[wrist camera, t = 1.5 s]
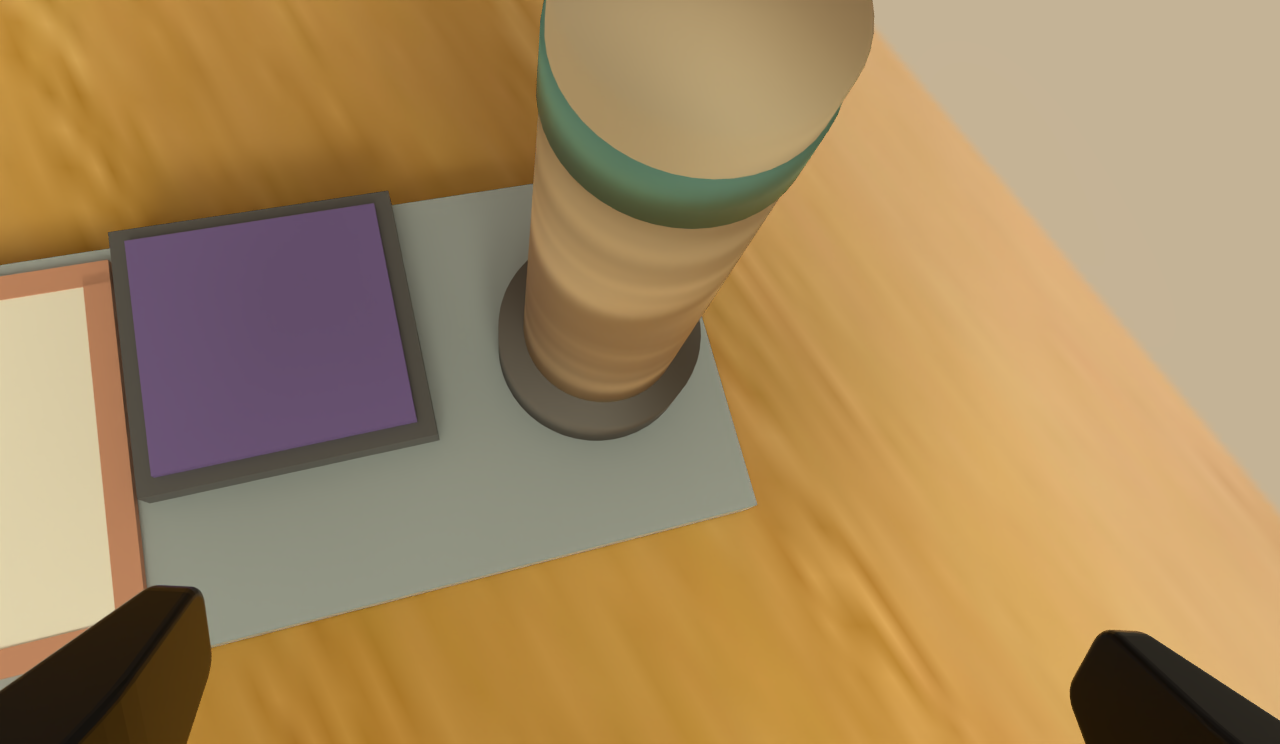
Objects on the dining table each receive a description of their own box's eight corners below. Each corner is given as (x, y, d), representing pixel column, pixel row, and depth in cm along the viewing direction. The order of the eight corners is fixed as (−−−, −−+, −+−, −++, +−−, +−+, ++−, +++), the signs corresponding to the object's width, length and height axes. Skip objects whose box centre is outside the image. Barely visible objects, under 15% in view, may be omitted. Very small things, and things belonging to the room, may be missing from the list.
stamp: (603, 481, 21) (752, 277, 8) (457, 351, 21) (393, -27, 9) (724, 344, 22) (998, 5, 10) (586, 225, 23) (686, -243, 10)
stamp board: (-312, 782, 17) (-410, 801, 15) (-301, 330, 19) (-384, 300, 17) (746, 509, 22) (768, 500, 20) (650, 180, 24) (662, 146, 23)
